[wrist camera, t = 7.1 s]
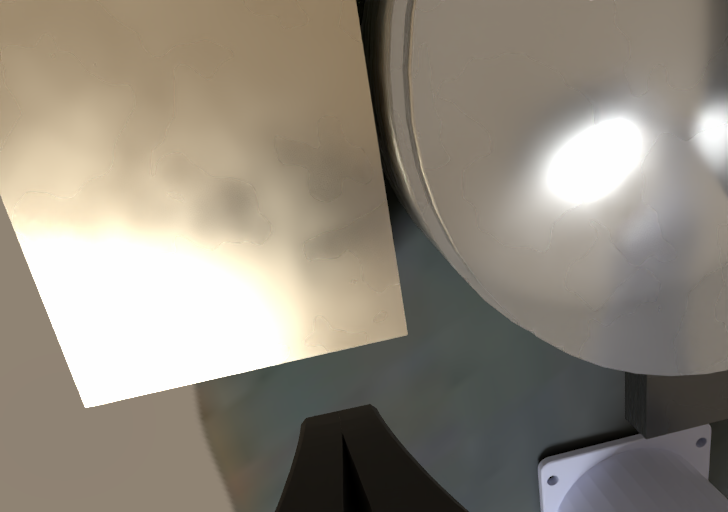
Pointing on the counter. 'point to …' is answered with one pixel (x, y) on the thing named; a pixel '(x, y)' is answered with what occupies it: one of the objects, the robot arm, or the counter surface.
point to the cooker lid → (582, 167)
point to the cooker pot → (225, 189)
